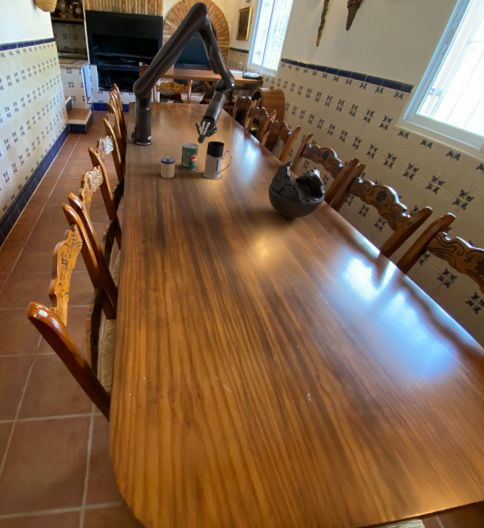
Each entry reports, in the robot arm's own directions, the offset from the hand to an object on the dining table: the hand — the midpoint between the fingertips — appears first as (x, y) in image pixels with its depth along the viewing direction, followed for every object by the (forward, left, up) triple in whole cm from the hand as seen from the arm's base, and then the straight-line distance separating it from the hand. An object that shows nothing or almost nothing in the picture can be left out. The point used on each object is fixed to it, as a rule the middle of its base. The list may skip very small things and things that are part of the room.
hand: (199, 142), depth 152 cm
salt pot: (-12, -24, -10) cm, 28 cm away
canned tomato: (-3, -11, -10) cm, 15 cm away
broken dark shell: (+42, -48, -10) cm, 64 cm away
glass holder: (+11, -19, -10) cm, 24 cm away
